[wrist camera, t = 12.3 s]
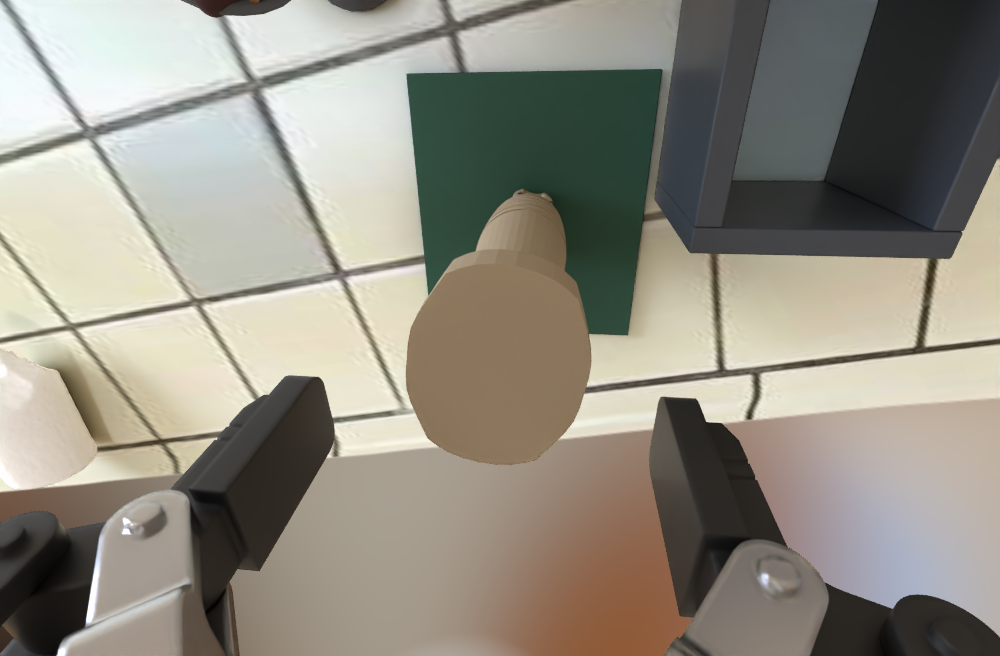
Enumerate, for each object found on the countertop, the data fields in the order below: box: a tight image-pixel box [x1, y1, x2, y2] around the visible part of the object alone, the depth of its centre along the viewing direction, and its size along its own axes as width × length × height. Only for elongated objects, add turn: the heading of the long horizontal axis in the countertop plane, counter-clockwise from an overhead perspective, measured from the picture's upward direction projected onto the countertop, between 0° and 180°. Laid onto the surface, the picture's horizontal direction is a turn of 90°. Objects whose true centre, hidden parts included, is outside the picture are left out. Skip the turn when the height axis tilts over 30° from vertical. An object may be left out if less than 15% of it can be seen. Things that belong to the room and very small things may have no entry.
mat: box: [407, 69, 662, 335], centre depth 26 cm, size 14×12×1 cm
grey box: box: [655, 0, 1000, 259], centre depth 19 cm, size 10×9×8 cm
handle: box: [406, 189, 591, 465], centre depth 19 cm, size 5×6×15 cm
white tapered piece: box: [0, 348, 97, 490], centre depth 34 cm, size 6×12×6 cm, turn 176°
